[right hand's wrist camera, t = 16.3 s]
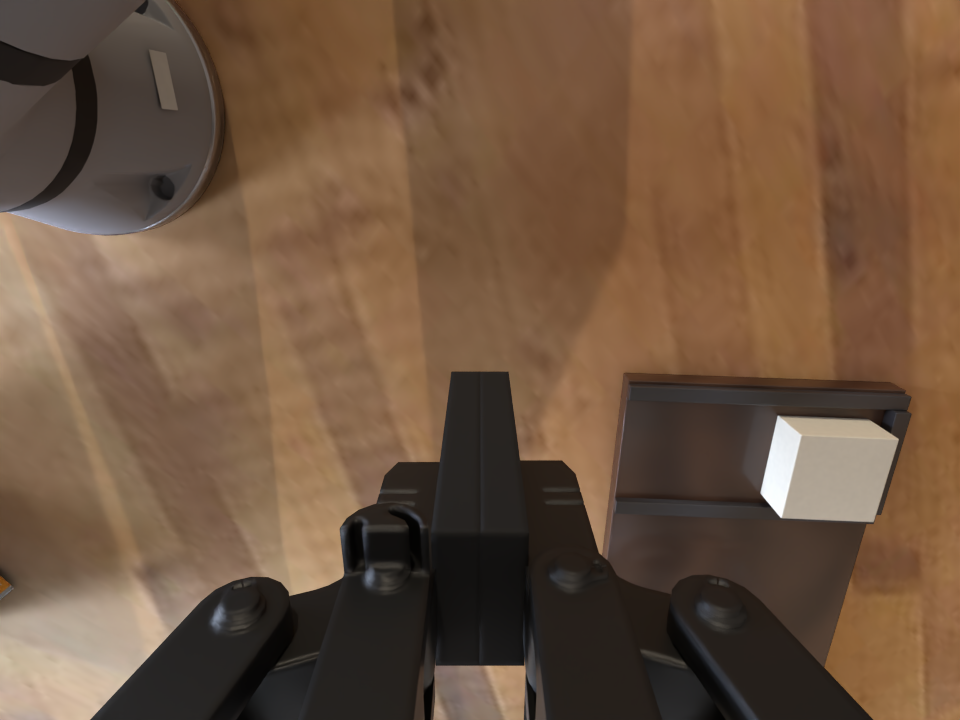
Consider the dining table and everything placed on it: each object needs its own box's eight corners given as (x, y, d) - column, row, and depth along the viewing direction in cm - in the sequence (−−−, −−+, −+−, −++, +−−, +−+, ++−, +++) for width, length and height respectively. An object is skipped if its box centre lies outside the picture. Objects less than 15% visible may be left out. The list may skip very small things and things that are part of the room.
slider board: (582, 719, 48) (602, 846, 39) (623, 372, 38) (664, 434, 29) (791, 729, 48) (861, 859, 39) (890, 382, 37) (1016, 448, 28)
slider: (759, 493, 39) (780, 518, 36) (777, 414, 37) (801, 435, 34) (846, 497, 39) (874, 522, 36) (868, 418, 37) (899, 439, 34)
